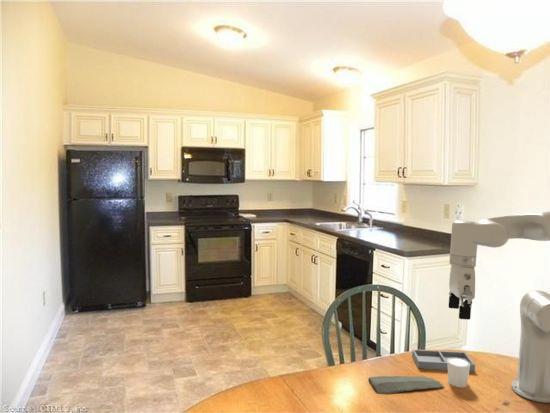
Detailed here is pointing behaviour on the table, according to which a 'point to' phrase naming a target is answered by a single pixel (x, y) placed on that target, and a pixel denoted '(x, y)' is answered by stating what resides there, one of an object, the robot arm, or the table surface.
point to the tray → (438, 359)
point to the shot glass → (458, 371)
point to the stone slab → (402, 383)
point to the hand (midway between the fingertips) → (458, 313)
